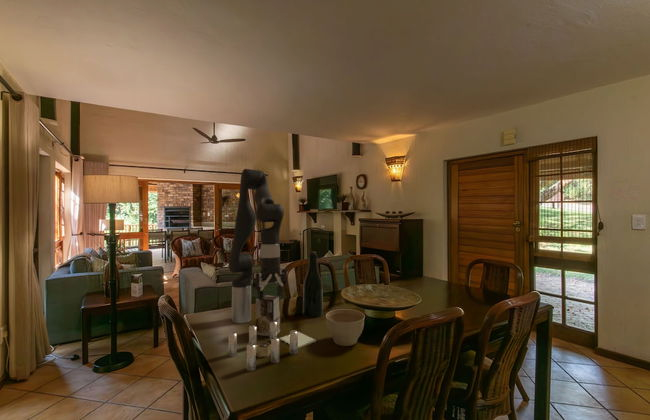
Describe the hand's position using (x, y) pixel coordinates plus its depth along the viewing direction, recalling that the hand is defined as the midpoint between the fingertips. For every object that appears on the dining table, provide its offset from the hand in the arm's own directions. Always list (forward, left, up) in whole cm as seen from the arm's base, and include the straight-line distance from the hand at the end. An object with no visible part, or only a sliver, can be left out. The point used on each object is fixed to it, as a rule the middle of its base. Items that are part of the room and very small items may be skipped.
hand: (270, 298), depth 118 cm
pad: (-2, +14, -21) cm, 25 cm away
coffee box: (-17, +9, -21) cm, 28 cm away
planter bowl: (+12, +28, -21) cm, 37 cm away
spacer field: (-1, -3, -21) cm, 21 cm away
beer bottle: (-23, +40, -21) cm, 51 cm away
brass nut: (-1, -3, -21) cm, 21 cm away
